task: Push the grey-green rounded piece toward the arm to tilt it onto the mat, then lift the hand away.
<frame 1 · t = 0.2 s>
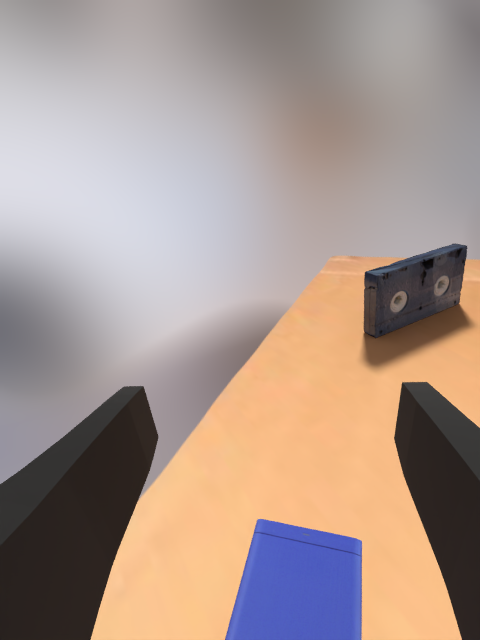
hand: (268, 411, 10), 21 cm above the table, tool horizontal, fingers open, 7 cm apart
vhs cassette tape: (412, 319, 56), on the table
hard drive: (295, 634, 23), on the table
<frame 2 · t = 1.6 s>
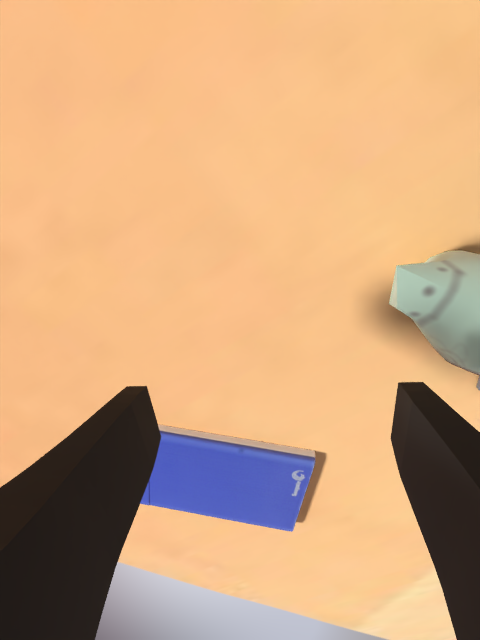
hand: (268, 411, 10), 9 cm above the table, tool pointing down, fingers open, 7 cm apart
hard drive: (221, 465, 27), on the table
grey-green rounded piece: (438, 272, 17), on the table
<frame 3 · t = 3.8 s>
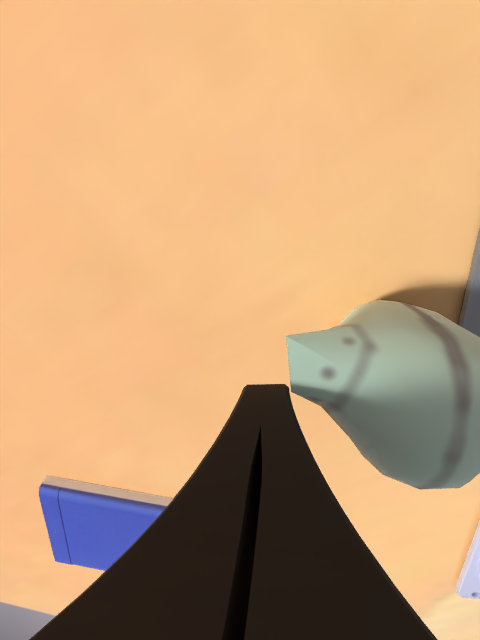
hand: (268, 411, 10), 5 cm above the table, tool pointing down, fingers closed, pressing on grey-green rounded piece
hard drive: (152, 521, 23), on the table
grey-green rounded piece: (375, 319, 14), on the table, touching gripper
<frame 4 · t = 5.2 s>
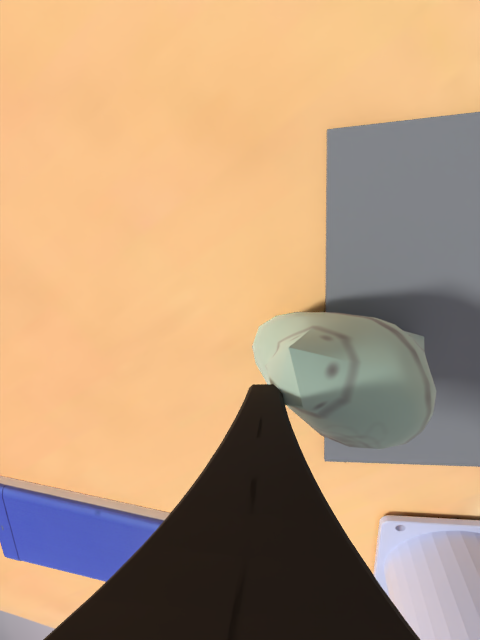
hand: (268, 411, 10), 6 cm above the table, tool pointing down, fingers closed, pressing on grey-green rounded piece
hard drive: (94, 522, 25), on the table
mat: (439, 325, 14), on the table
grey-green rounded piece: (259, 341, 15), point 1 cm above the table, touching gripper
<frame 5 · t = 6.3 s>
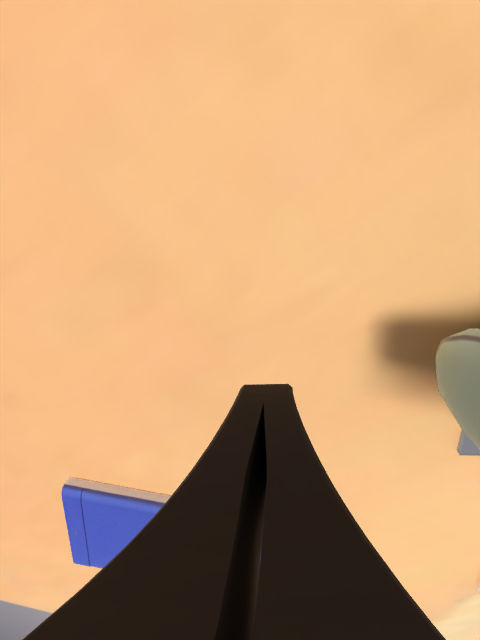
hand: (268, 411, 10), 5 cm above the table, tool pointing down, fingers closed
hard drive: (172, 523, 23), on the table
grey-green rounded piece: (428, 344, 12), point 2 cm above the table, touching mat
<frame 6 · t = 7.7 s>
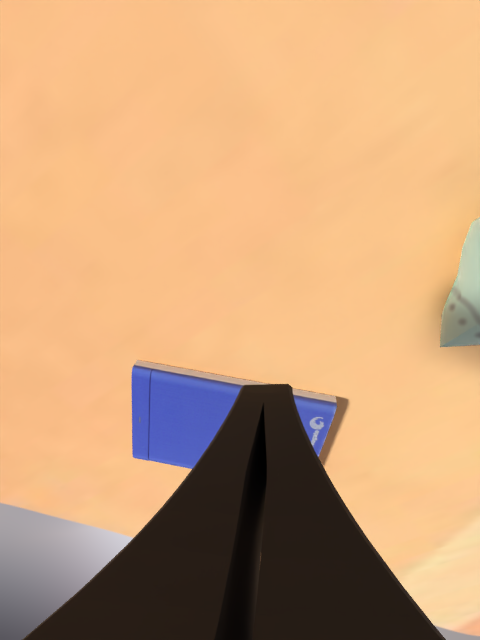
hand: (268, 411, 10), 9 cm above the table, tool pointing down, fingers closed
hard drive: (228, 417, 24), on the table
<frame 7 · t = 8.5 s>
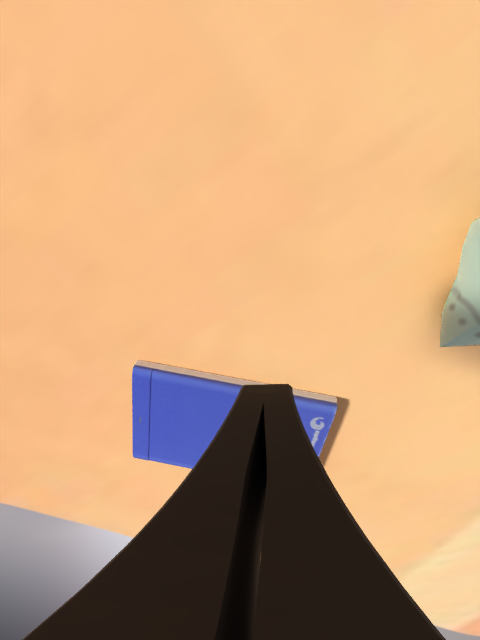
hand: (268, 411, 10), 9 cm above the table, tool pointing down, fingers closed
hard drive: (229, 417, 24), on the table
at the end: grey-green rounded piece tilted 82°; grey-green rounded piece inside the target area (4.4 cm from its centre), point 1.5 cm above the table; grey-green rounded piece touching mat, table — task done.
